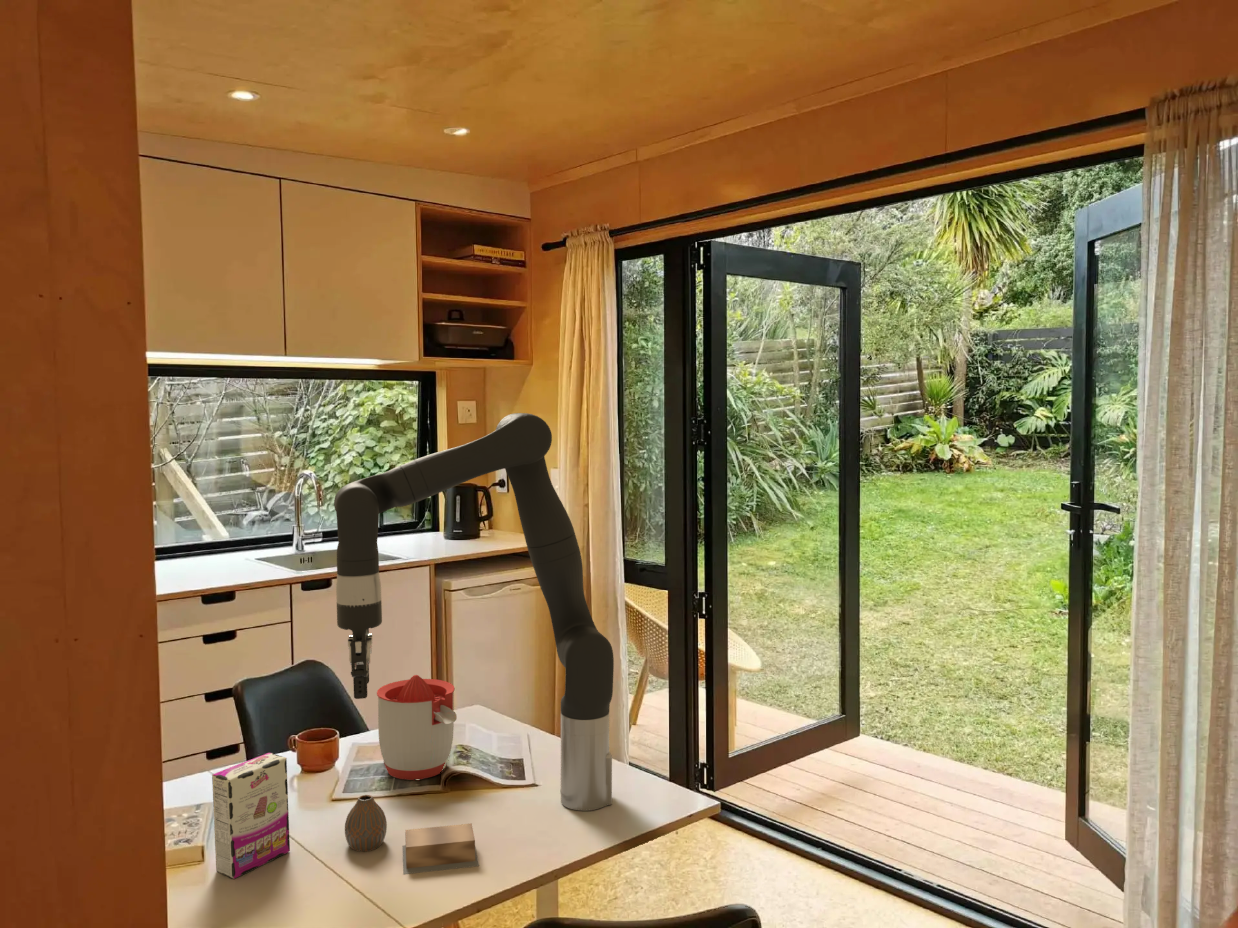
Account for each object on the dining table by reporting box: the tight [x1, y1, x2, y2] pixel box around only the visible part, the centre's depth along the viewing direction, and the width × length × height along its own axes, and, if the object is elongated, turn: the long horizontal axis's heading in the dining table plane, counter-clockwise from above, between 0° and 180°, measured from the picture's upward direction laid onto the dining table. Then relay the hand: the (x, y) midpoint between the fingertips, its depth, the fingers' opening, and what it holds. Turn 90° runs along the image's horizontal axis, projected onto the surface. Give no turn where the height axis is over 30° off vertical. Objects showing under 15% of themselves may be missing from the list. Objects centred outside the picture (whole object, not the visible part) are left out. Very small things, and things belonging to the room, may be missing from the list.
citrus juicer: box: [376, 674, 457, 781], centre depth 195 cm, size 16×17×20 cm
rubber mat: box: [402, 844, 480, 875], centre depth 158 cm, size 12×10×1 cm
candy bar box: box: [211, 752, 291, 880], centre depth 156 cm, size 11×5×16 cm, turn 148°
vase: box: [344, 794, 388, 852], centre depth 162 cm, size 7×7×9 cm
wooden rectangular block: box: [404, 823, 476, 868], centre depth 158 cm, size 11×6×4 cm, turn 104°
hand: (361, 690), depth 166 cm, fingers open, 8 cm apart
